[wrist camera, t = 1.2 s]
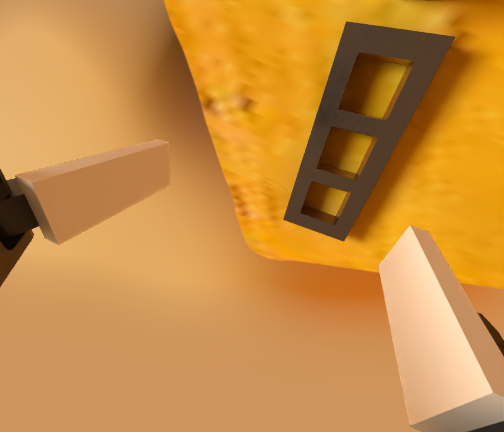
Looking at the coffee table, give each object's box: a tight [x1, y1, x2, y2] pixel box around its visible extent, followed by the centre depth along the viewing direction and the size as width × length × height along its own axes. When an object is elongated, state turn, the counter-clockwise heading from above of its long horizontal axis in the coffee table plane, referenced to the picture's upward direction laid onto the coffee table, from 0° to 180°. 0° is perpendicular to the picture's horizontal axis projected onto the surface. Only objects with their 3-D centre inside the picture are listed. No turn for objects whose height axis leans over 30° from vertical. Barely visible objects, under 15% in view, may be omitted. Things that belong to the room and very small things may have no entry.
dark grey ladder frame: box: [283, 22, 455, 241], centre depth 29 cm, size 25×10×3 cm, turn 167°
